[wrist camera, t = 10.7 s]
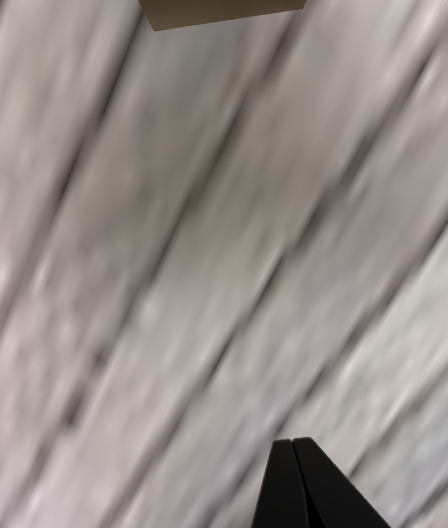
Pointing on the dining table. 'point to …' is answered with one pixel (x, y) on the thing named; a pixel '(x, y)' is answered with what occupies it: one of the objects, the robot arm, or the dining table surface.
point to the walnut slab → (209, 10)
